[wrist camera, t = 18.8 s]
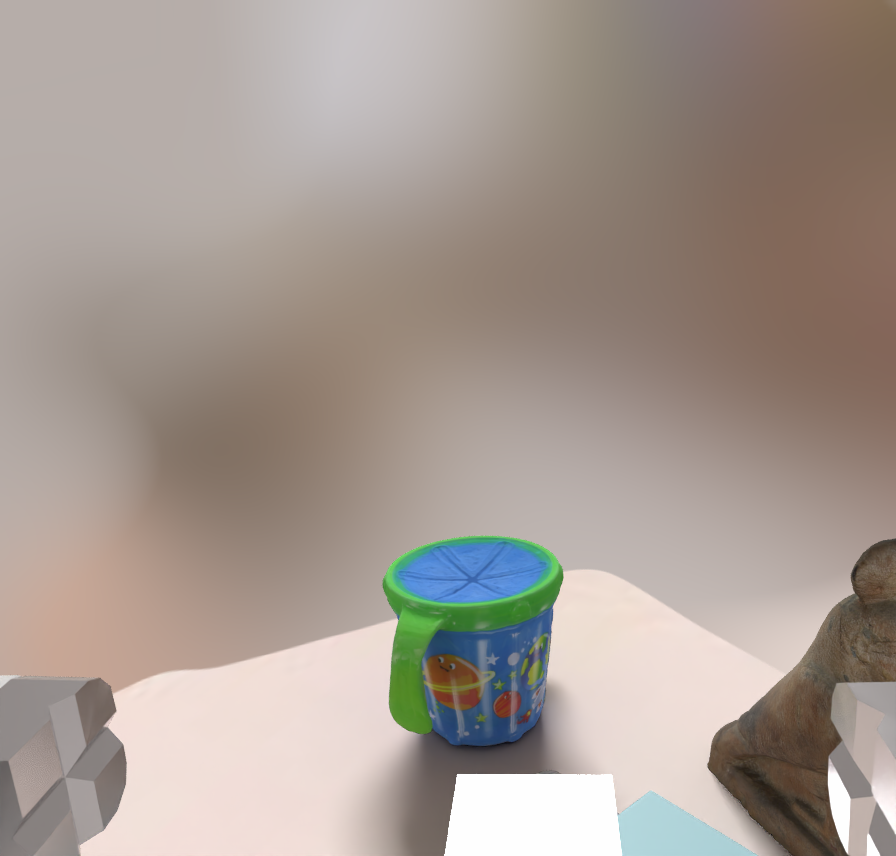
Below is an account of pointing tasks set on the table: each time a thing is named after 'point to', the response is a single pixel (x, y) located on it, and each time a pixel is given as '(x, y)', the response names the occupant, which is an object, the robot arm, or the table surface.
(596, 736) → the table surface
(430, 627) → the snack cup
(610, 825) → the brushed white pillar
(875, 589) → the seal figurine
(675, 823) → the toy truck
